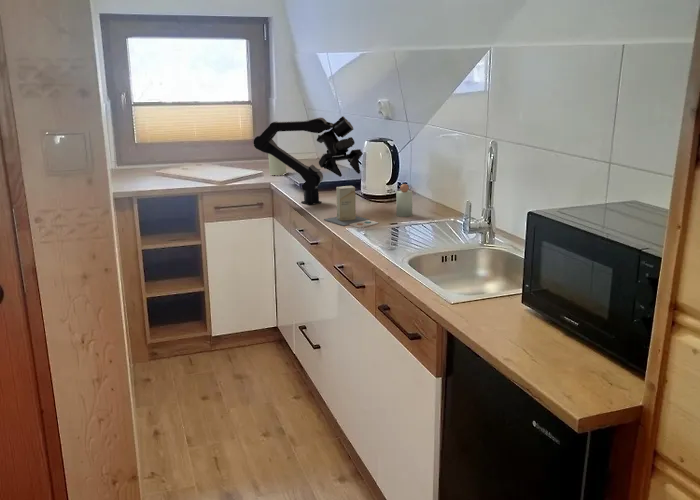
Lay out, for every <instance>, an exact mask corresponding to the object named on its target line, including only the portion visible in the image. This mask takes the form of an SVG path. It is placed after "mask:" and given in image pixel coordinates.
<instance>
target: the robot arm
mask: <svg viewBox="0 0 700 500" xmlns="http://www.w3.org/2000/svg"><path fill="white" fill-rule="evenodd" d="M353 130H354V125H352V124H351V122H350V121H349V120H348V119H346V117H345V116H341V117H340V118H339V119H338V120H337V121H336V122H334V123H333V122H331V121H327V120H326V119H325V118H324V117H316V118H312V119H308V120H303V121H302V120H301V121H300V120H299V121H298V120H296V121H294V120H293V121H273V122H270V123H269V125H268V127H267V128H266V129H265V130H264V131H263V132H261V133H260V135H258V136H256V137H254V139H253V146H254V148H255V149H256V150H258V151H260V152H262V153H265V154H267V155H268V154H271V155H273V156H274V157H276V158H277V159H279V160H280V161H281V162H283V163H284V164H286V167H289V168H290V169H291V170H293V171H294V172H296V173H297V174H298V175H300V176H301V178H302V179H303V181H305V182H304V183H302V185H301V188H302V190H303V201H302V200H301V202H300V203H301V204H305V205H309V206H311V205H316V204H322V203H323V201H321V200H320V195H319V194H320V193H319V188H318V187H319V186H320V183H322V181H323V180H324V175H323V173H322V171H321V169H324V170H327V171H330V172H331V173H333V174H334V175H336V176H338V177H340V178H341V177H342V176H343V174H342V172H341V169H340V168H339V166H338V164H337V162H340V161H347V162H348V163H349V166H351V168H352V169H353V170H354V171H355V173H357V174H358V175H360V173H361V169H360V162H359V161H360V159H361V157H362V156H363V154H364V153H363V152H362V150H361V149H359V148H358V149H352V150H351V151H350V152H349V149H350V148H352V147H353V146H354V145H355V140H354V139H353V137H351V136H349V137H348V138H344V137H346V135H348V134H350V133H351V132H352V131H353ZM300 131H301V132H302V131H304V132H307V133H308V132H309V133H313V134H318V136H317V137H316V142H318V143H320V144H322V143H323V144H324V146H325V147H326V149H327V150H326V153H323V154H322V155H321V156H320V159H319V160H318V165H319V166H320V168H321V169H320V168H318V167H316V166H315V165H314V164H311V165H310V166H308V165H306V164H304V163H303V162H301V161H300V160H298V159H297V158H295V157H294V156H292V155H291V154H290V153H288V152H287V151H285V150H284V149H283V148H281V147H280V146H278V144H277V143H276V142H275V141H274V140H273V138H274V137H275V136H276V134H277V133H279V132H300ZM321 133H322V134H321ZM319 134H320V135H319ZM340 137H341V138H342V139H340V140H339V138H340ZM348 152H349V153H348Z"/></svg>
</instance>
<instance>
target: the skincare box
mask: <svg viewBox="0 0 700 500" xmlns="http://www.w3.org/2000/svg"><path fill="white" fill-rule="evenodd" d="M335 190H336V194H335V195H336V217H337V219H339V220H340V221H345V220H355V219H356V216H357V214H356V211H357V209H356V208H357V205H356V187H355V186H353V185H345V186H344V185H343V186H336V188H335Z"/></svg>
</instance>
